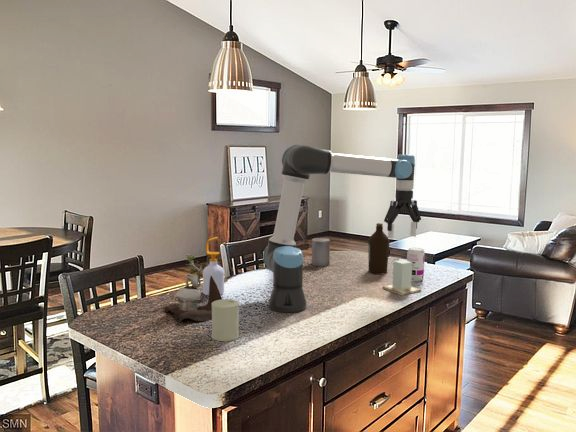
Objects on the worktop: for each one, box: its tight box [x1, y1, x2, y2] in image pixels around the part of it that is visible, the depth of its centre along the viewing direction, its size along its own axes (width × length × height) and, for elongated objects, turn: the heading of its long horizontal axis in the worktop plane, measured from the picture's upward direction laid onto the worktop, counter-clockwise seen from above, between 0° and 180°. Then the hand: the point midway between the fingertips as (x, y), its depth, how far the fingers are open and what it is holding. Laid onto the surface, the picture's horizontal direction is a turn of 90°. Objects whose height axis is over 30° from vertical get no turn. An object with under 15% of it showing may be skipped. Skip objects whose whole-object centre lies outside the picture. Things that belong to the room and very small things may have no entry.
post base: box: [382, 284, 422, 296], centre depth 234 cm, size 12×12×8 cm
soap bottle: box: [202, 236, 225, 297], centre depth 224 cm, size 9×9×25 cm
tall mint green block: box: [392, 259, 412, 290], centre depth 234 cm, size 6×6×12 cm
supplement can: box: [406, 247, 426, 282], centre depth 253 cm, size 8×8×15 cm
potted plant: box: [163, 254, 223, 324], centre depth 199 cm, size 20×19×25 cm
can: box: [211, 298, 240, 342], centre depth 175 cm, size 9×9×12 cm
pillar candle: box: [311, 237, 331, 267], centre depth 282 cm, size 10×10×15 cm
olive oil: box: [367, 222, 390, 275], centre depth 266 cm, size 11×11×25 cm
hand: (401, 237), depth 233 cm, fingers open, 13 cm apart
